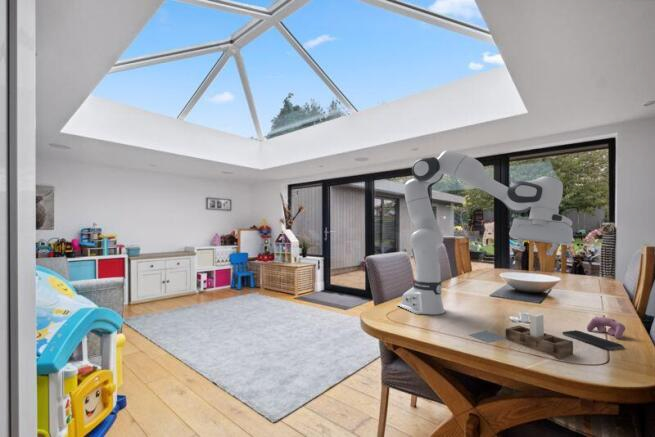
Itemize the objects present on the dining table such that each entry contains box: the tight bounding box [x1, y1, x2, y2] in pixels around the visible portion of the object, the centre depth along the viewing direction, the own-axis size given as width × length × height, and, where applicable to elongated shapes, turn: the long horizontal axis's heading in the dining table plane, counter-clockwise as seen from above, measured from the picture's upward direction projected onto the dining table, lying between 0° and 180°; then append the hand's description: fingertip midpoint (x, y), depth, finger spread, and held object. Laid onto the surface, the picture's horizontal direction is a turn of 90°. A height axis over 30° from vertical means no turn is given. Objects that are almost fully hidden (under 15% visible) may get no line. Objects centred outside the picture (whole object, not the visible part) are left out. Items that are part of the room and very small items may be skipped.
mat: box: [468, 330, 506, 344], centre depth 107 cm, size 8×10×1 cm
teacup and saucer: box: [509, 311, 531, 326], centre depth 124 cm, size 9×8×4 cm
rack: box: [505, 325, 574, 360], centre depth 98 cm, size 17×8×4 cm, turn 26°
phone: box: [561, 329, 624, 351], centre depth 103 cm, size 8×1×15 cm
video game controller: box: [586, 316, 626, 340], centre depth 110 cm, size 10×5×7 cm, turn 23°
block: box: [529, 313, 545, 338], centre depth 98 cm, size 2×4×9 cm, turn 115°
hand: (534, 252), depth 113 cm, fingers open, 8 cm apart
